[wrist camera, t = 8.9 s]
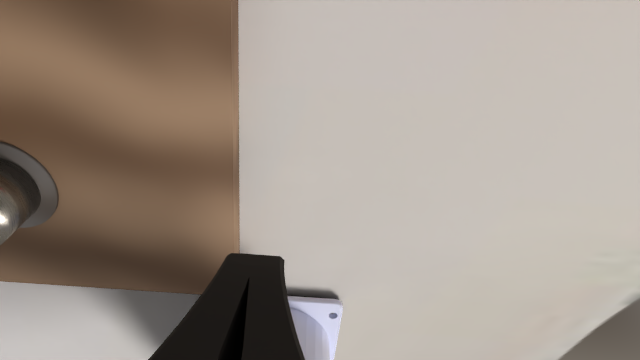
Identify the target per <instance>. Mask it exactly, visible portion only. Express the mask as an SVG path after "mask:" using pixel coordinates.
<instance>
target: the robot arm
mask: <svg viewBox="0 0 640 360" xmlns="http://www.w3.org/2000/svg"><path fill="white" fill-rule="evenodd" d="M342 311H343V306H342V302H341V301H339V300H337V299H327V298H312V297H297V296H287V291H286V285H285V277H284V260H283V259H282V258H281V257H280V256H267V255H253V254H239V253H230V254H229V255H227V256H226V258H225V260H224V261H223V263H222V265H221V266H220V268H219V270H218V271H217V273H216V274H215V276H214V277H213V279H212V280H211V282H210V283H209V285H208V286H207V288H206V289H205V290H204V292H203V293H202V295H201V296H200V297H199V299H198V300H197V301H196V303H195V304H194V305H193V307H192V308H191V309H190V311H189V312H188V313H187V314H186V316H185V317H184V318H183V320H182V321H181V322H180V323H179V325H178V326H177V327H176V328H175V329H174V330H173V332H172V333H171V334H170V335H169V336H168V338H167V339H166V340H165V341H164V342H163V343H162V345H161V346H160V347H159V348H158V349H157V351H156V352H155V353H154V354H153V355H152V356H151V357H150V358H149V359H148V360H334V356H335V350H336V345H337V339H338V334H339V328H340V322H341V317H342ZM332 313H334V314H332Z"/></svg>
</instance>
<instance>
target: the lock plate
mask: <svg viewBox="0 0 640 360" xmlns="http://www.w3.org/2000/svg"><path fill="white" fill-rule="evenodd" d="M0 158H2V159H5V160H7V161H10V162H12V163H14V164H16V165H17V166H19V167H20V168H22V169H23V170H24V171H26V172H27V173H28V174H29V175H30V176H31V177H32V179H33V180H34V181H35V183H36V184H37V186H38V188H39V191H40V195H41V202H40V206H39V208H38V209H37V211H36V212H35V213H34V214H33V215H32V216H31V217H30V218H29V219H28V220H26V221H25V222H24V223H23V224H22V225H21V226H20V227H19V228H18V229H17V230H16V231H15V232H14V233H13V234H12V235H11V236H10V237H9V238H8V239H7V240H6V241H5V242H4V243H2V244H1V245H0V281H5V282H20V283H35V284H50V285H66V286H81V287H96V288H111V289H126V290H141V291H156V292H171V293H186V294H201V295H202V293H203V292H204V290H205V289H206V288H207V286H208V285H209V283H210V282H211V280H212V279H213V277H214V276H215V274H216V273H217V271H218V270H219V268H220V266H221V265H222V263H223V261H224V260H225V258H226V256H227V255H229V254H230V253H239V72H238V0H0Z"/></svg>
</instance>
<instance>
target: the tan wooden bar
mask: <svg viewBox="0 0 640 360" xmlns="http://www.w3.org/2000/svg"><path fill="white" fill-rule="evenodd" d="M40 202H41V195H40V191H39V188H38V186H37V184H36V183H35V181H34V180H33V179H32V177H31V176H30V175H29V174H28V173H27V172H26V171H24V170H23V169H22V168H20V167H19V166H17V165H16V164H14V163H12V162H10V161H7V160H5V159H2V158H0V245H1V244H2V243H4V242H5V241H6V240H7V239H8V238H9V237H10V236H11V235H12V234H13V233H14V232H15V231H16V230H17V229H18V228H19V227H20V226H21V225H22V224H23V223H24V222H25V221H26V220H28V219H29V218H30V217H31V216H32V215H33V214H34V213H35V212H36V211H37V209H38V208H39V206H40Z"/></svg>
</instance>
